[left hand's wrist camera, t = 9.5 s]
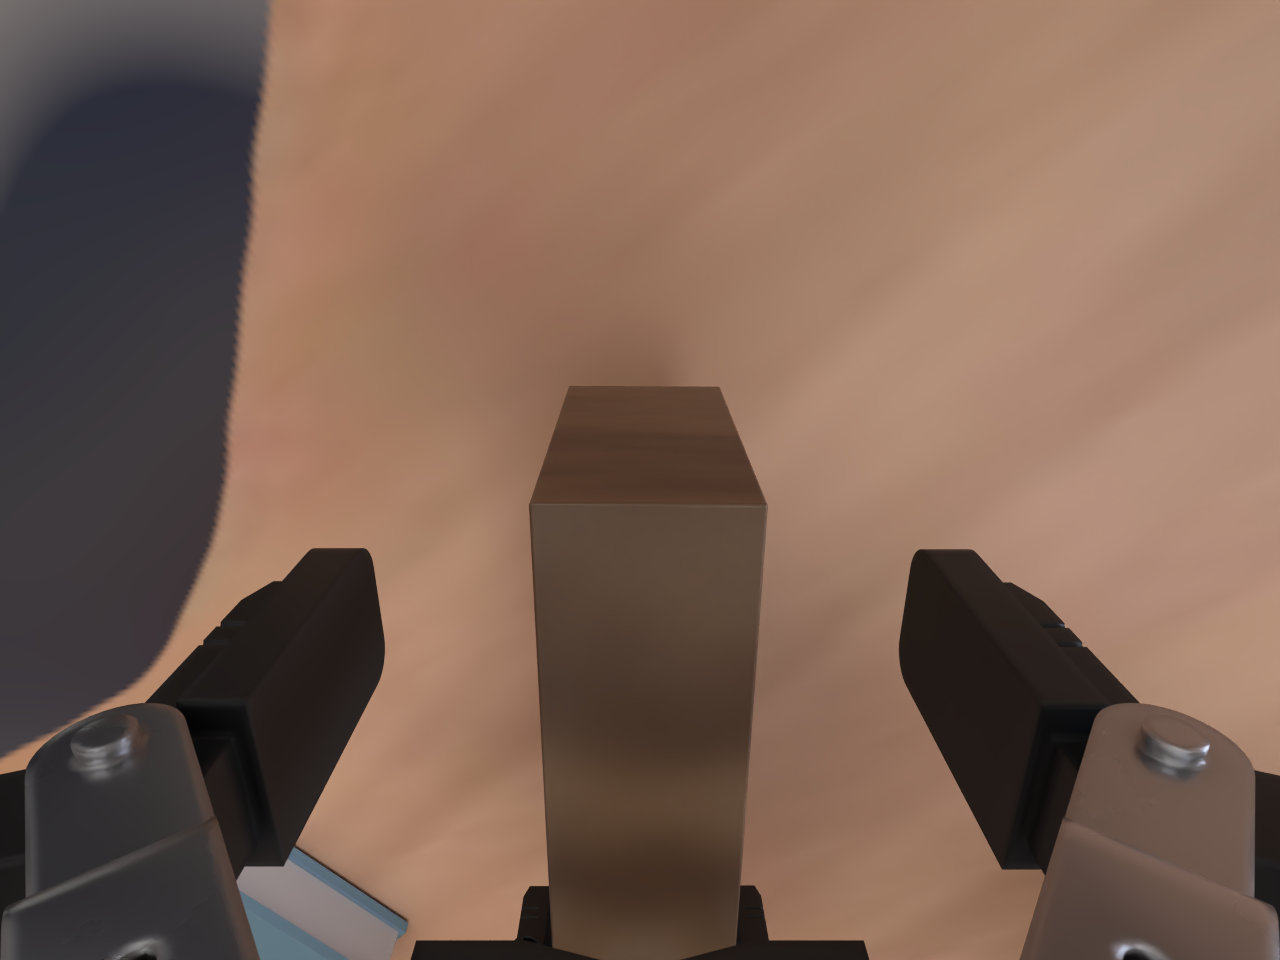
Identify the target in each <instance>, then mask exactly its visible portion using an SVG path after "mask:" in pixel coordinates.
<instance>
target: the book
mask: <svg viewBox="0 0 1280 960" xmlns="http://www.w3.org/2000/svg"><path fill="white" fill-rule="evenodd" d="M236 882H237V885H238V888H239V892H240V895H241V898H242V901H243V905H244V908H245V911H246V915H247V918H248V921H249V924H250V928H251V931H252V934H253V937H254V941H255V944H256V947H257V950H258V954H259V957H260V960H390V959H391V955H392V952H393V949H394V946H395V943H396V940H397V939H398V938H399V937H400V936H402V935H403V934H404V933H405V932H406V929H407V926H408V923H407V922H406V921H404V920H403V919H401V918H400V917H398V916H397V915H395V914H394V913H392V912H391V911H389V910H388V909H386V908H385V907H383V906H382V905H380V904H379V903H377V902H376V901H374V900H373V899H371V898H370V897H368V896H367V895H365V894H364V893H362V892H361V891H359V890H358V889H356V888H355V887H353V886H352V885H350V884H349V883H347V882H346V881H344V880H343V879H341V878H340V877H338V876H337V875H335V874H334V873H332V872H331V871H329V870H328V869H326V868H325V867H323V866H322V865H320V864H319V863H317V862H316V861H314V860H313V859H311V858H310V857H308V856H307V855H305V854H304V853H302V852H301V851H299V850H298V849H296V848H295V847H294V848H293V850H292V851H291V853H290V855H289V857H288V859H287V861H286V863H285V865H284V867H244V869H243V870H242V872H241V874H240V876H239V877H238V879H237V881H236Z"/></svg>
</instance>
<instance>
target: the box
mask: <svg viewBox="0 0 1280 960" xmlns="http://www.w3.org/2000/svg"><path fill="white" fill-rule="evenodd" d="M767 509H768V506H767V503H766V501H765V498H764V496H763V493H762V491H761V488H760V486H759V483H758V481H757V478H756V476H755V473H754V471H753V469H752V466H751V464H750V461H749V459H748V456H747V454H746V451H745V449H744V446H743V444H742V441H741V439H740V437H739V434H738V432H737V429H736V427H735V424H734V422H733V419H732V417H731V414H730V412H729V409H728V407H727V405H726V402H725V400H724V397H723V395H722V392H721V390H720V387H634V386H570V387H569V389H568V392H567V394H566V397H565V400H564V403H563V406H562V409H561V412H560V415H559V418H558V421H557V424H556V427H555V430H554V433H553V436H552V439H551V442H550V445H549V448H548V451H547V454H546V457H545V460H544V463H543V466H542V469H541V472H540V474H539V477H538V480H537V483H536V486H535V489H534V492H533V495H532V498H531V501H530V504H529V514H530V533H531V552H532V571H533V590H534V609H535V628H536V647H537V666H538V685H539V704H540V723H541V742H542V762H543V781H544V800H545V819H546V838H547V857H548V876H549V895H550V914H551V933H552V947H553V948H557V949H561V950H564V951H568V952H572V953H576V954H580V955H584V956H587V957H591V958H595V959H599V960H681V959H685V958H689V957H693V956H696V955H700V954H704V953H708V952H712V951H716V950H719V949H723V948H727V947H731V946H735V945H736V938H737V924H738V910H739V897H740V883H741V869H742V855H743V841H744V827H745V814H746V800H747V786H748V772H749V758H750V744H751V731H752V717H753V703H754V689H755V675H756V662H757V648H758V634H759V620H760V606H761V592H762V579H763V565H764V551H765V537H766V523H767Z"/></svg>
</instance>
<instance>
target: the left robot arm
mask: <svg viewBox="0 0 1280 960" xmlns="http://www.w3.org/2000/svg"><path fill="white" fill-rule="evenodd" d="M203 641H204V643H203V645H199V646H198V647H197V648H196V649H195V650H194V651H193V652H192V653H191V654H190V655H189V656H188V657H187V659H186V660H185V661H184V662H183V663H182V664H181V665H180V666H179V667H178V668H177V669H176V670H175V671H174V672H173V673H172V675H171V676H170V677H169V678H168V679H167V680H166V681H165V682H164V683H163V684H162V685H161V686H160V687H159V688H158V689H157V691H156V692H155V693H154V694H153V695H152V696H151V697H150V698H149V699H148V700H147V701H146V702H145V703H140V704H132V705H126V706H121V707H117V708H113V709H110V710H106V711H103V712H100V713H98V714H95V715H92V716H90V717H88V718H85V719H83V720H81V721H79V722H77V723H75V724H73V725H71V726H70V727H68V728H66V729H64V730H63V731H61V732H60V733H58V734H57V735H55V736H54V737H53V738H51V739H50V740H49V741H48V742H46V743H45V744H44V745H43V746H42V747H41V748H40V749H39V750H38V751H37V752H36V753H35V755H34V756H33V757H32V759H31V760H30V762H29V764H28V766H27V768H26V769H25V770H20V771H15V772H10V773H6V774H1V775H0V960H260V957H259V954H258V950H257V947H256V944H255V941H254V937H253V934H252V931H251V928H250V924H249V921H248V918H247V915H246V911H245V908H244V905H243V901H242V898H241V895H240V892H239V888H238V885H237V882H236V881H237V879H238V877H239V876H240V874H241V872H242V870H243V869H244V867H284V865H285V863H286V861H287V859H288V857H289V855H290V853H291V851H292V850H293V848H294V846H295V844H296V842H297V840H298V838H299V836H300V834H301V832H302V830H303V828H304V826H305V824H306V822H307V820H308V818H309V817H310V815H311V813H312V811H313V809H314V807H315V805H316V803H317V801H318V799H319V797H320V795H321V793H322V791H323V789H324V787H325V785H326V784H327V782H328V780H329V778H330V776H331V774H332V772H333V770H334V768H335V766H336V764H337V762H338V760H339V758H340V756H341V754H342V753H343V751H344V749H345V747H346V745H347V743H348V741H349V739H350V737H351V735H352V733H353V731H354V729H355V727H356V725H357V723H358V721H359V720H360V718H361V716H362V714H363V712H364V710H365V708H366V706H367V704H368V702H369V700H370V698H371V696H372V694H373V692H374V690H375V688H376V687H377V685H378V682H379V680H380V677H381V674H382V670H383V665H384V656H385V641H384V633H383V626H382V620H381V613H380V606H379V599H378V593H377V586H376V579H375V573H374V566H373V561H372V558H371V555H370V553H369V552H368V551H367V550H366V549H364V548H313V549H311V550H310V551H309V552H307V554H306V555H305V556H304V557H303V558H302V559H301V560H300V562H299V563H298V564H297V565H296V566H295V567H294V568H293V569H292V571H291V572H290V573H289V574H288V575H287V576H286V577H285V579H284V580H283V581H273V582H271V583H270V584H268V585H266V586H265V587H263V588H261V589H259V590H258V591H256V592H254V593H253V594H251V595H249V596H248V597H246V598H244V599H242V600H241V601H240V602H239V603H238V604H237V605H236V606H235V607H234V608H233V610H232V611H231V612H230V613H229V614H228V615H227V616H226V617H225V618H224V619H223V620H222V621H221V626H220V627H216V628H215V629H214V630H213V631H212V632H211V633H210V634H209V635H208V636H207V637H206V638H205V639H204V640H203ZM899 659H900V667H901V672H902V676H903V679H904V682H905V684H906V686H907V688H908V690H909V692H910V694H911V696H912V698H913V699H914V701H915V703H916V705H917V707H918V709H919V711H920V713H921V715H922V717H923V719H924V721H925V722H926V724H927V726H928V728H929V730H930V732H931V734H932V736H933V738H934V740H935V742H936V744H937V745H938V747H939V749H940V751H941V753H942V755H943V757H944V759H945V761H946V763H947V765H948V767H949V768H950V770H951V772H952V774H953V776H954V778H955V780H956V782H957V784H958V786H959V788H960V790H961V791H962V793H963V795H964V797H965V799H966V801H967V803H968V805H969V807H970V809H971V811H972V813H973V814H974V816H975V818H976V820H977V822H978V824H979V826H980V828H981V830H982V832H983V834H984V836H985V837H986V839H987V841H988V843H989V845H990V847H991V849H992V851H993V853H994V855H995V857H996V859H997V860H998V862H999V864H1000V866H1001V868H1002V869H1042V871H1043V873H1044V875H1045V879H1044V882H1043V885H1042V888H1041V892H1040V895H1039V898H1038V901H1037V905H1036V908H1035V911H1034V915H1033V918H1032V921H1031V924H1030V928H1029V931H1028V934H1027V937H1026V941H1025V944H1024V947H1023V950H1022V954H1021V957H1020V960H1280V776H1279V775H1274V774H1269V773H1264V772H1260V771H1256V770H1254V768H1253V766H1252V764H1251V762H1250V760H1249V759H1248V757H1247V756H1246V755H1245V753H1244V752H1243V751H1242V750H1241V749H1240V748H1239V747H1238V746H1237V745H1236V744H1235V743H1234V742H1232V741H1231V740H1230V739H1229V738H1227V737H1226V736H1225V735H1223V734H1222V733H1220V732H1219V731H1217V730H1216V729H1214V728H1212V727H1210V726H1209V725H1207V724H1205V723H1203V722H1201V721H1199V720H1197V719H1195V718H1192V717H1190V716H1188V715H1185V714H1182V713H1180V712H1177V711H1174V710H1170V709H1167V708H1163V707H1159V706H1154V705H1148V704H1140V703H1139V702H1138V701H1137V700H1136V699H1135V698H1134V696H1133V695H1132V694H1131V693H1130V692H1129V691H1128V690H1127V689H1126V688H1125V687H1124V686H1123V685H1122V684H1121V683H1120V682H1119V681H1118V680H1117V679H1116V677H1115V676H1114V675H1113V674H1112V673H1111V672H1110V671H1109V670H1108V669H1107V668H1106V667H1105V666H1104V665H1103V664H1102V663H1101V662H1100V661H1099V659H1098V658H1097V657H1096V656H1095V655H1094V654H1093V653H1092V652H1091V651H1090V650H1089V649H1088V648H1087V647H1083V646H1082V642H1081V640H1080V639H1079V638H1078V637H1077V636H1076V635H1075V634H1074V633H1073V632H1072V631H1071V630H1070V629H1069V628H1065V626H1064V623H1063V621H1062V620H1061V619H1060V618H1059V617H1058V616H1057V615H1056V614H1055V613H1054V612H1053V611H1052V610H1051V609H1050V608H1049V607H1048V606H1047V605H1046V604H1045V602H1044V601H1042V600H1040V599H1038V598H1037V597H1035V596H1033V595H1032V594H1030V593H1028V592H1026V591H1025V590H1023V589H1021V588H1020V587H1018V586H1016V585H1014V584H1013V583H1003V582H1002V581H1001V580H1000V579H999V578H998V577H997V576H996V574H995V573H994V572H993V571H992V570H991V569H990V568H989V567H988V565H987V564H986V563H985V562H984V561H983V560H982V559H981V558H980V556H979V555H978V554H977V553H976V552H975V551H973V550H969V549H920V550H918V551H917V552H916V553H915V555H914V557H913V559H912V563H911V568H910V574H909V581H908V587H907V594H906V601H905V607H904V614H903V621H902V627H901V634H900V641H899ZM411 960H599V959H595V958H591V957H587V956H584V955H580V954H576V953H572V952H568V951H564V950H561V949H557V948H553V947H549V946H545V945H541V944H538V943H534V942H530V941H416V944H415V947H414V950H413V954H412V957H411ZM681 960H869V957H868V954H867V950H866V947H865V944H864V941H750V942H746V943H742V944H739V945H735V946H731V947H727V948H723V949H719V950H716V951H712V952H708V953H704V954H700V955H696V956H693V957H689V958H685V959H681Z"/></svg>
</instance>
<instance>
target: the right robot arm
mask: <svg viewBox="0 0 1280 960" xmlns="http://www.w3.org/2000/svg"><path fill="white" fill-rule="evenodd" d="M514 941H530V942H534V943H538V944H541V945H545V946H549V947H552V933H551V914H550V895H549V886H530V887H529V889H528V890H527V892H526V894H525V895H524V898H523V904H522V910H521V916H520V923H519V929H518V935H517V938H516V939H515V940H514ZM750 941H769V939H768V933H767V927H766V922H765V916H764V910H763V905H762V899H761V895H760V894H759V892H758V890H757V889H756V887H755V886H740V897H739V910H738V924H737V938H736V945H739V944H742V943H746V942H750Z"/></svg>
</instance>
